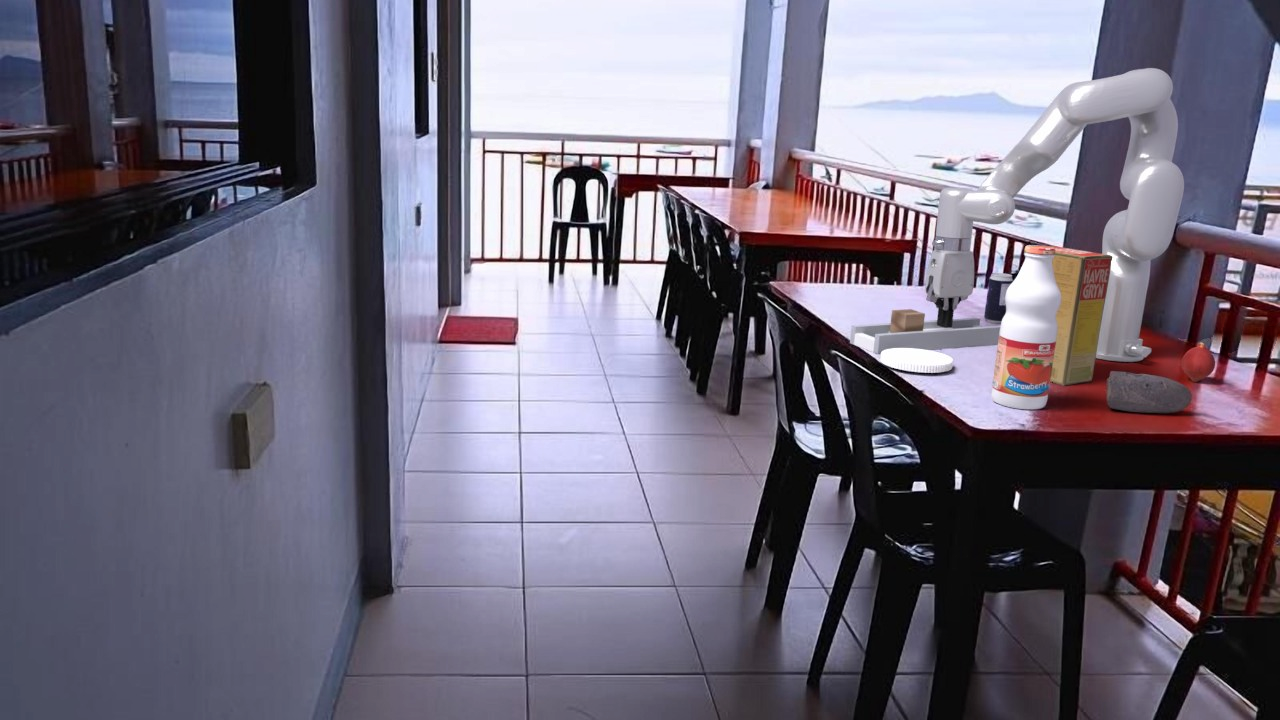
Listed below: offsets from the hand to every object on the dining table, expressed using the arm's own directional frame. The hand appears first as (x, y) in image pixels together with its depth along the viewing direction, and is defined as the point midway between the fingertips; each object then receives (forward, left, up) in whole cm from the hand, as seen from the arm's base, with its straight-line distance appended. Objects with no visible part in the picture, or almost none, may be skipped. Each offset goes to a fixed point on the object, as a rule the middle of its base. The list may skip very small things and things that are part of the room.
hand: (944, 326), depth 215 cm
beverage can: (+15, -30, -4) cm, 34 cm away
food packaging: (-29, -3, -4) cm, 29 cm away
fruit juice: (-42, +18, -4) cm, 46 cm away
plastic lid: (-16, +20, -4) cm, 26 cm away
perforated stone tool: (-53, 0, -4) cm, 53 cm away
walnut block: (+1, +10, -1) cm, 10 cm away
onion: (-41, -29, -4) cm, 50 cm away
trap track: (0, +4, -4) cm, 5 cm away
